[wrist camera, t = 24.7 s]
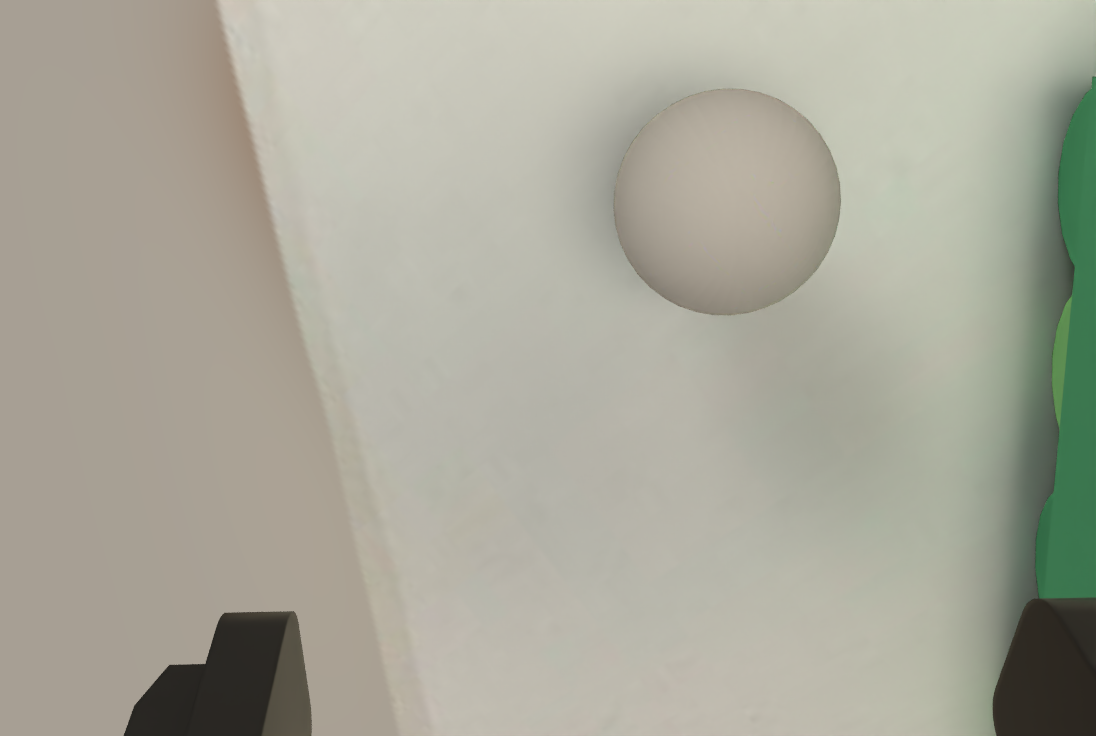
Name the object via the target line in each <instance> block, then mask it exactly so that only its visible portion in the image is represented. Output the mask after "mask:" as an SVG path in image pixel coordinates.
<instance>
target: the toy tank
mask: <svg viewBox="0 0 1096 736" xmlns="http://www.w3.org/2000/svg"><path fill="white" fill-rule="evenodd" d="M1058 207H1059V214H1060V222H1061V229H1062V235H1063V238H1064V241H1065V244H1066V247H1067V250H1068V253H1069V256H1070V259H1071V261H1072V263H1073V264H1074V266H1075V270H1074V280H1073V291H1072V296H1071V297H1070V299H1069V300H1068V301H1067V303H1066V305H1065V307H1064V310H1063V313H1062V315H1061V318H1060V321H1059V323H1058V326H1057V331H1056V337H1055V342H1054V348H1053V354H1052V390H1053V398H1054V406H1055V414H1056V418H1057V422H1058V426H1059V440H1058V451H1057V461H1056V472H1055V483H1054V492H1053V493H1052V494H1051V495H1050V496H1049V497H1048V499H1047V501H1046V504H1045V506H1044V508H1043V510H1042V513H1041V515H1040V519H1039V525H1038V530H1037V536H1036V559H1035V569H1036V578H1037V586H1038V595H1039V599H1040V598H1088V597H1096V77H1093V78H1092V89H1090V90H1089V91H1088V92H1087V93H1086V94H1085V96H1084V97H1083V99H1082V101H1081V102H1080V104H1079V106H1078V107H1077V109H1076V111H1075V112H1074V114H1073V116H1072V119H1071V122H1070V125H1069V128H1068V131H1067V134H1066V137H1065V140H1064V143H1063V148H1062V155H1061V161H1060V167H1059V173H1058Z"/></svg>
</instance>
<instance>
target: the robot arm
mask: <svg viewBox="0 0 1096 736" xmlns="http://www.w3.org/2000/svg"><path fill="white" fill-rule="evenodd" d="M993 720H994V726H995V731H996V735H997V736H1096V597H1088V598H1040V599H1033V600H1031V601H1030V602H1028V603H1027V605H1026V606H1025V608H1024V610H1023V612H1022V615H1021V618H1020V621H1019V623H1018V626H1017V629H1016V632H1015V635H1014V638H1013V640H1012V643H1011V646H1010V649H1009V652H1008V654H1007V657H1006V660H1005V663H1004V666H1003V669H1002V671H1001V674H1000V677H999V680H998V683H997V685H996V688H995V692H994V697H993ZM311 723H312V720H311V705H310V698H309V691H308V685H307V678H306V671H305V664H304V657H303V650H302V644H301V637H300V631H299V624H298V619H297V616H296V613H295V612H294V611H293V612H292V611H291V612H246V613H245V612H243V613H224V614H223V615H222V616H221V618H220V620H219V622H218V624H217V627H216V631H215V634H214V637H213V640H212V644H211V647H210V650H209V654H208V657H207V661H206V664H192V665H169V666H168V667H167V668H166V670H165V671H164V672H163V673H162V674H161V675H160V676H159V678H158V679H157V680H156V681H155V682H154V684H153V685H152V686H151V687H150V688H149V689H148V690H147V692H146V693H145V694H144V695H143V696H142V697H141V699H140V700H139V701H138V702H137V703H136V705H135V706H134V709H133V711H132V714H131V717H130V720H129V722H128V725H127V728H126V731H125V733H124V736H311V733H312V726H311V725H312V724H311Z"/></svg>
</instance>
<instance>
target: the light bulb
mask: <svg viewBox="0 0 1096 736" xmlns="http://www.w3.org/2000/svg"><path fill="white" fill-rule="evenodd" d="M840 205H841V196H840V182H839V178H838V173H837V168H836V165H835V163H834V160H833V158H832V155H831V152H830V150H829V148H828V146H827V145H826V143H825V141H824V140H823V138H822V136H821V135H820V133H819V132H818V131H817V130H816V129H815V128H814V126H813V125H812V124H811V123H810V122H809V121H808V120H807V119H806V118H805V117H804V116H802V115H801V114H800V113H799V112H798V111H796V110H795V109H794V108H792V107H791V106H789V105H787V104H785V103H784V102H782V101H780V100H778V99H776V98H773V97H771V96H768V95H765V94H763V93H760V92H755V91H749V90H744V89H718V90H711V91H704V92H701V93H698V94H695V95H691V96H688V97H686V98H684V99H682V100H680V101H678V102H676V103H674V104H672V105H670V106H669V107H667V108H666V109H665V110H663V111H662V112H660V113H659V114H657V115H656V116H655V117H654V118H653V119H652V120H651V121H650V122H649V123H648V124H647V125H646V126H645V127H643V129H642V130H641V131H640V133H639V134H638V135H637V137H636V138H635V139H634V140H633V142H632V144H631V145H630V147H629V149H628V151H627V153H626V155H625V156H624V159H623V161H622V164H621V167H620V170H619V172H618V176H617V181H616V186H615V191H614V216H615V225H616V230H617V233H618V237H619V240H620V244H621V246H622V248H623V250H624V252H625V255H626V257H627V259H628V260H629V262H630V263H631V265H632V266H633V268H634V269H635V271H636V272H637V274H638V275H639V276H640V277H641V278H642V279H643V280H644V281H645V282H646V283H647V285H648V286H649V287H651V288H652V289H653V290H654V291H656V292H657V293H658V294H660V295H661V296H662V297H664V298H665V299H667V300H669V301H671V302H673V303H675V304H676V305H678V306H681V307H684V308H687V309H689V310H692V311H695V312H700V313H706V314H711V315H736V314H743V313H749V312H753V311H756V310H760V309H763V308H766V307H768V306H770V305H772V304H775V303H777V302H779V301H781V300H782V299H784V298H785V297H787V296H789V295H790V294H792V293H793V292H795V291H796V290H797V289H798V288H799V287H800V286H801V285H803V284H804V283H805V282H806V281H807V280H808V279H809V278H810V277H811V275H812V274H813V273H814V272H815V271H816V270H817V268H818V267H819V266H820V264H821V262H822V261H823V259H824V258H825V256H826V254H827V253H828V251H829V248H830V246H831V244H832V241H833V239H834V237H835V233H836V229H837V225H838V222H839V215H840Z"/></svg>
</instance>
